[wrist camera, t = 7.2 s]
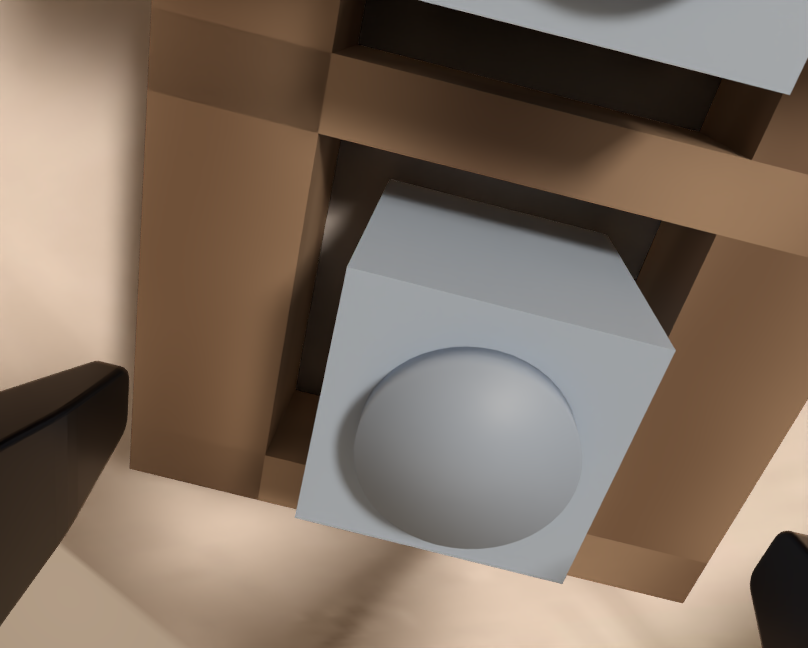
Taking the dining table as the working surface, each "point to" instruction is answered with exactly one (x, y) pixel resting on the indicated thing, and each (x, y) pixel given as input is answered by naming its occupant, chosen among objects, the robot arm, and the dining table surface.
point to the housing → (486, 155)
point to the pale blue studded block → (675, 32)
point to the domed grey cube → (479, 383)
